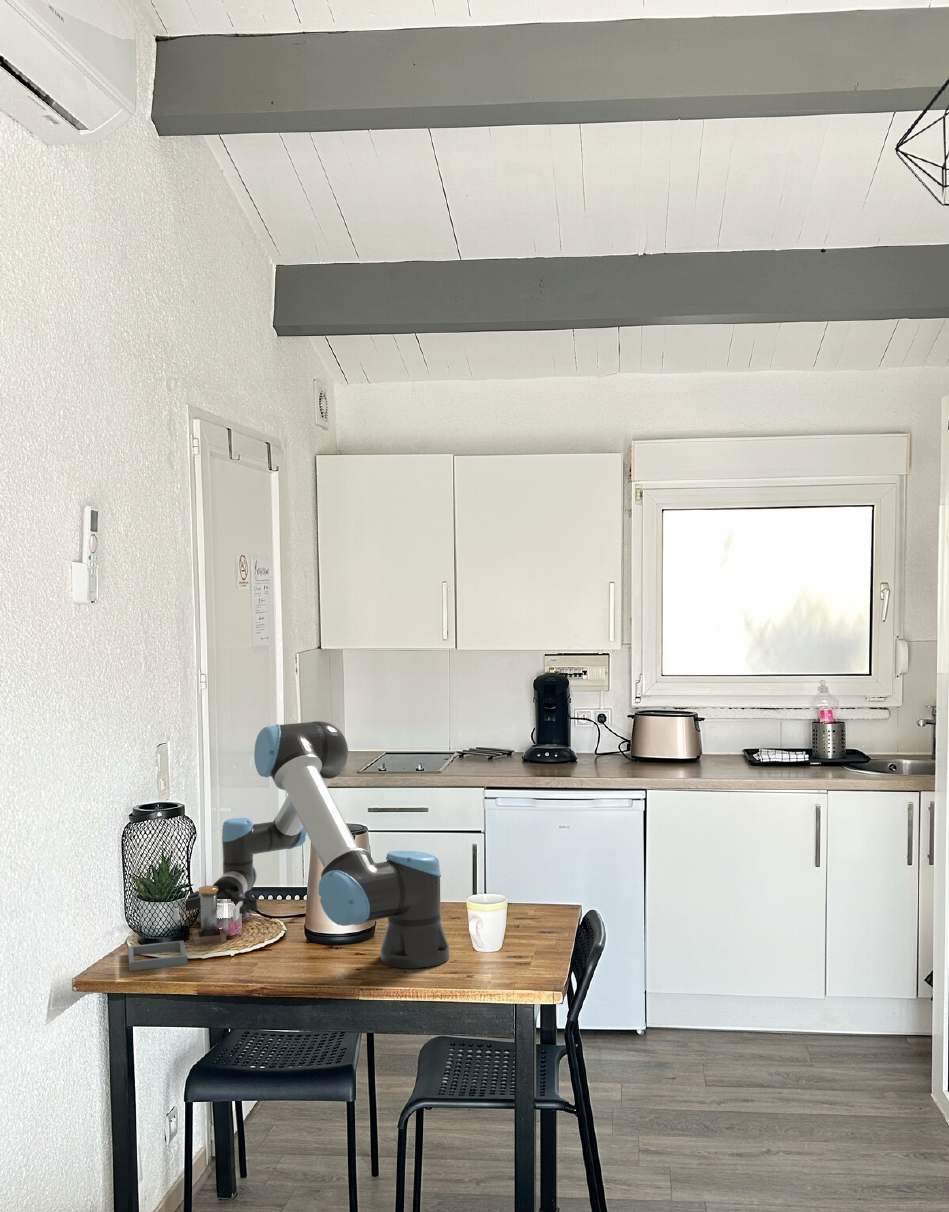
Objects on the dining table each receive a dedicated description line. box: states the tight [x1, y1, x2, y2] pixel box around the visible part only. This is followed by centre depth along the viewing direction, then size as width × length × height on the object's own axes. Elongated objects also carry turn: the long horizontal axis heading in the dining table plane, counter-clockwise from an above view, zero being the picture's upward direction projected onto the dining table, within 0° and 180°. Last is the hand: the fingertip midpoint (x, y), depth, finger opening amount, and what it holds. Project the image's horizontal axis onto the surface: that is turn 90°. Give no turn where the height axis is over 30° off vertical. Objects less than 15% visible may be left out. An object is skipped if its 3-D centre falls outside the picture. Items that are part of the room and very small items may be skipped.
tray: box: [127, 939, 188, 972], centre depth 249 cm, size 12×12×2 cm
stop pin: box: [198, 885, 218, 937], centre depth 262 cm, size 4×4×12 cm
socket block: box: [192, 927, 227, 947], centre depth 262 cm, size 7×7×2 cm
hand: (205, 915), depth 259 cm, fingers open, 13 cm apart
